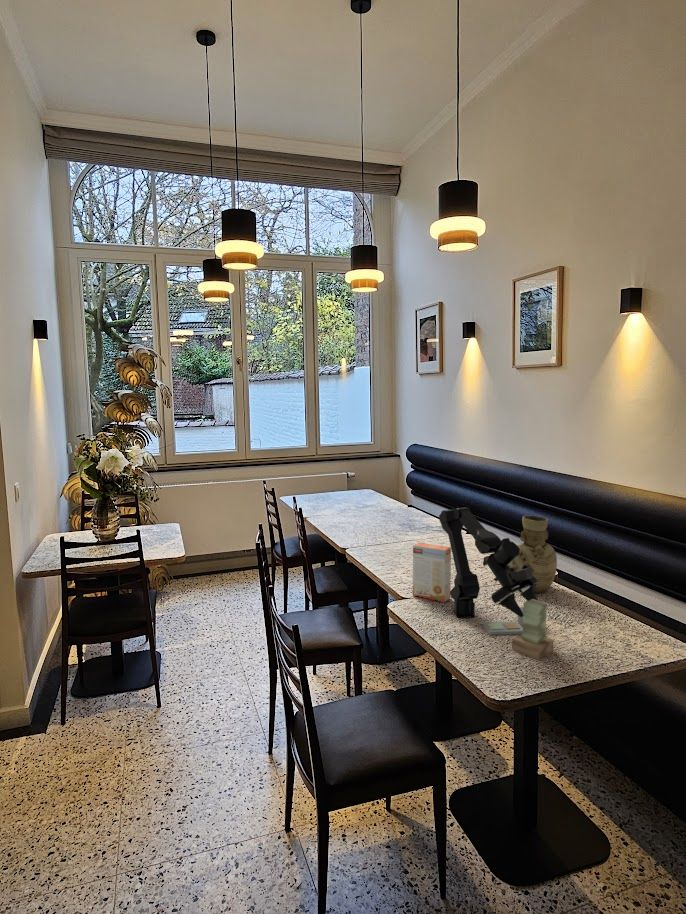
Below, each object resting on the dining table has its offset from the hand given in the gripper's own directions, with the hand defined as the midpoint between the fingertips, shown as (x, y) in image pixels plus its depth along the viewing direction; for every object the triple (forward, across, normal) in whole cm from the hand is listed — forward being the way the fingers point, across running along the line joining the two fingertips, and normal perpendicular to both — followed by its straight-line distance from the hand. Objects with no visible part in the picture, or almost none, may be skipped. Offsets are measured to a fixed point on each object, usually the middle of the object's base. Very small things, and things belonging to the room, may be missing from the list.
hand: (530, 612), depth 185 cm
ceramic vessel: (-12, +50, +30) cm, 59 cm away
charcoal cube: (+1, +16, +16) cm, 23 cm away
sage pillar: (+7, 0, +5) cm, 8 cm away
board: (-1, +6, +18) cm, 19 cm away
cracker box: (-27, +11, +44) cm, 53 cm away
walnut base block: (+10, 0, +8) cm, 12 cm away
